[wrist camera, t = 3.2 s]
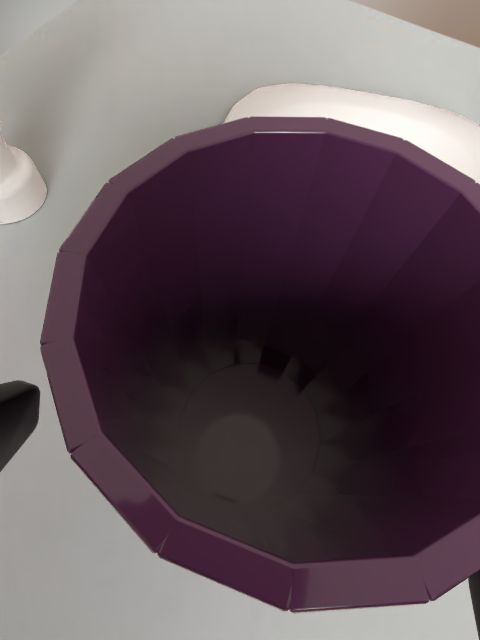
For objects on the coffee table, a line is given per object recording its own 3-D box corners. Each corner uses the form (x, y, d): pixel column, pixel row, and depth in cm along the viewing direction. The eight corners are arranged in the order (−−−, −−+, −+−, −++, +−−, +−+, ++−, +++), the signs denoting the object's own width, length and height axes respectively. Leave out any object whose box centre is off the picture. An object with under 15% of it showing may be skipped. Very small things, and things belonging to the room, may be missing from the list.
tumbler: (255, 559, 15) (395, 838, 3) (140, 437, 16) (-70, 296, 5) (353, 428, 17) (655, 283, 5) (243, 334, 19) (280, 64, 7)
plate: (522, 385, 18) (550, 375, 17) (165, 310, 19) (160, 294, 17) (491, 137, 26) (509, 114, 24) (238, 91, 27) (239, 67, 25)
